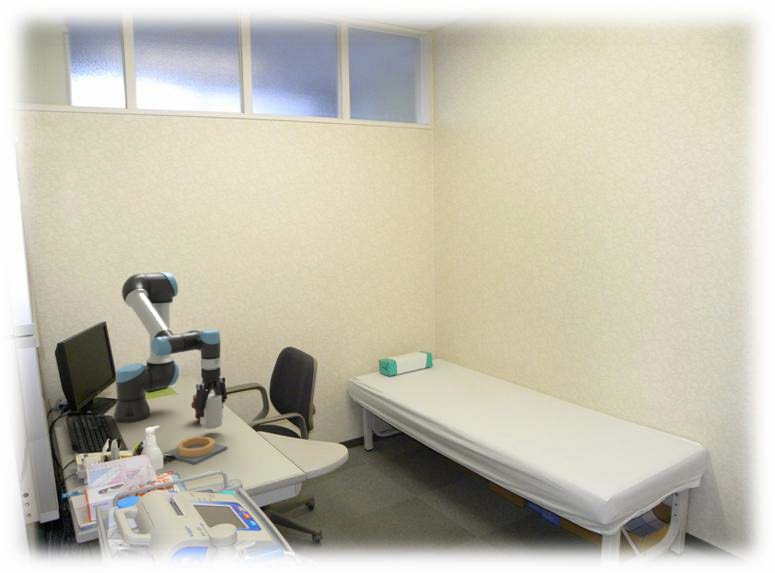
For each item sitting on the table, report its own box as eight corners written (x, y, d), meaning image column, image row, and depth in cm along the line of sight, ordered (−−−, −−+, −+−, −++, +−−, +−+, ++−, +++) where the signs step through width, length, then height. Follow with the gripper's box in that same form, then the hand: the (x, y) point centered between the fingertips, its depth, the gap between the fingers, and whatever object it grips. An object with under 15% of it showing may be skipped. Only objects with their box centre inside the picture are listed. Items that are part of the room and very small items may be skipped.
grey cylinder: (214, 419, 232) (214, 392, 230) (225, 424, 227) (225, 396, 225) (197, 424, 226) (197, 397, 224) (208, 430, 220) (208, 401, 219)
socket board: (164, 455, 205) (164, 446, 205) (197, 440, 219) (197, 432, 219) (194, 464, 198) (194, 455, 197) (227, 448, 212) (226, 440, 211)
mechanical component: (219, 417, 246) (208, 424, 237) (199, 415, 248) (187, 423, 239) (218, 390, 245) (207, 397, 235) (198, 389, 247) (186, 395, 237)
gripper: (197, 375, 212) (198, 430, 215) (236, 363, 230) (236, 414, 233) (183, 372, 216) (185, 426, 219) (223, 360, 234) (223, 411, 237)
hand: (211, 420), depth 226 cm, fingers closed on grey cylinder, 8 cm apart
